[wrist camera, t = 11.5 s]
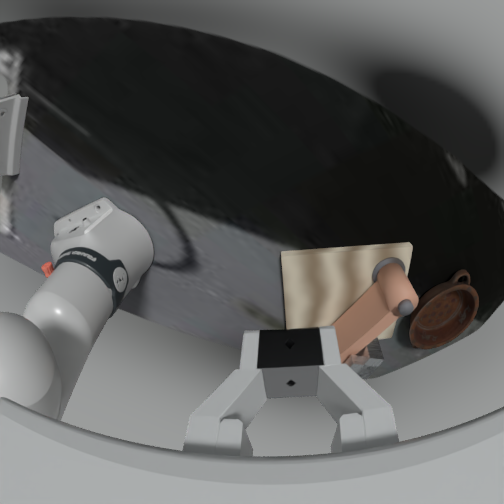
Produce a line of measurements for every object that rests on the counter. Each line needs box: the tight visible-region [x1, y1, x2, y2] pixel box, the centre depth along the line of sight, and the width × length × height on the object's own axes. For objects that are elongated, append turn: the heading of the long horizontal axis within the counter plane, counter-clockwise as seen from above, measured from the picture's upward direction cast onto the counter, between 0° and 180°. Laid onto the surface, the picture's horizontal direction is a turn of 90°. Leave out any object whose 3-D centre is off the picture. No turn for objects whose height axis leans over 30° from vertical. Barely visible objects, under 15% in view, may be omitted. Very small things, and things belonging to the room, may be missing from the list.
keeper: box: [345, 337, 384, 379], centre depth 50 cm, size 6×5×12 cm
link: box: [331, 263, 419, 364], centre depth 47 cm, size 20×5×9 cm, turn 149°
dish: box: [409, 270, 479, 349], centre depth 52 cm, size 18×22×5 cm
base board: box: [281, 242, 413, 339], centre depth 53 cm, size 23×23×2 cm
